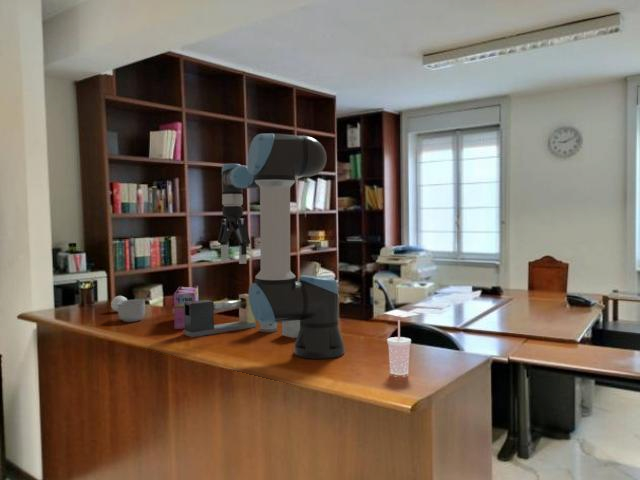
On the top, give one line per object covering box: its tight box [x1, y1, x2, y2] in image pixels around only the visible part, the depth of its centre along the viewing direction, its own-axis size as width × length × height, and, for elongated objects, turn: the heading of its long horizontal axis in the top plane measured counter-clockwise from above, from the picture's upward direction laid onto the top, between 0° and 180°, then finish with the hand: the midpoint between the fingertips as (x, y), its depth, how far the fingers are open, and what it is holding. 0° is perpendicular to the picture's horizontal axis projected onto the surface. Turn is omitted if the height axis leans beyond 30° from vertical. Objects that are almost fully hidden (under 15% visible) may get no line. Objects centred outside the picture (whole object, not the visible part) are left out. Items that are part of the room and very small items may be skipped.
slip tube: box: [214, 299, 246, 312], centre depth 191 cm, size 17×3×3 cm, turn 129°
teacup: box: [117, 298, 146, 323], centre depth 212 cm, size 14×11×8 cm
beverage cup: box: [386, 319, 412, 375], centre depth 133 cm, size 6×6×14 cm
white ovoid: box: [110, 295, 128, 313], centre depth 230 cm, size 10×7×7 cm
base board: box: [183, 321, 257, 338], centre depth 189 cm, size 26×7×2 cm, turn 129°
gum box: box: [173, 285, 199, 330], centre depth 205 cm, size 24×8×14 cm, turn 10°
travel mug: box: [259, 323, 278, 334], centre depth 187 cm, size 6×7×20 cm
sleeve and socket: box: [184, 293, 256, 332], centre depth 189 cm, size 26×6×10 cm, turn 129°
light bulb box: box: [281, 320, 300, 339], centre depth 181 cm, size 11×7×11 cm, turn 134°
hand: (233, 262), depth 192 cm, fingers open, 13 cm apart
